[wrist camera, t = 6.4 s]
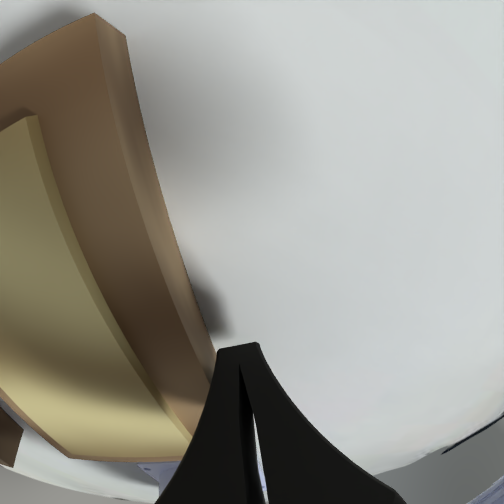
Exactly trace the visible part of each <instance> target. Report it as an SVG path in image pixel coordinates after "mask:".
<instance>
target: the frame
mask: <svg viewBox="0 0 504 504" xmlns="http://www.w3.org/2000/svg"><path fill="white" fill-rule="evenodd" d="M215 362H216V352H215V349H214V347H213V344H212V342H211V339H210V336H209V334H208V331H207V328H206V326H205V323H204V320H203V318H202V315H201V312H200V309H199V307H198V304H197V301H196V298H195V295H194V292H193V290H192V287H191V284H190V281H189V278H188V275H187V272H186V269H185V266H184V263H183V260H182V257H181V254H180V251H179V248H178V245H177V241H176V238H175V235H174V232H173V229H172V225H171V222H170V219H169V215H168V212H167V209H166V205H165V202H164V199H163V195H162V192H161V188H160V184H159V181H158V177H157V174H156V170H155V166H154V163H153V159H152V155H151V151H150V147H149V143H148V139H147V135H146V131H145V127H144V123H143V119H142V115H141V110H140V106H139V101H138V97H137V92H136V88H135V83H134V78H133V73H132V68H131V63H130V58H129V53H128V48H127V42H126V36H125V35H124V34H122V33H121V32H120V31H119V30H117V29H116V28H115V27H113V26H112V25H111V24H109V23H108V22H106V21H105V20H104V19H102V18H101V17H100V16H98V15H97V14H95V13H92V14H90V15H88V16H85V17H83V18H81V19H79V20H77V21H74V22H72V23H70V24H68V25H66V26H64V27H62V28H60V29H58V30H56V31H54V32H52V33H50V34H49V35H47V36H45V37H43V38H41V39H40V40H38V41H36V42H34V43H33V44H31V45H29V46H28V47H26V48H24V49H23V50H21V51H19V52H18V53H16V54H15V55H13V56H12V57H10V58H9V59H7V60H6V61H4V62H3V63H1V64H0V397H1V398H2V399H3V400H4V401H5V402H6V403H7V404H8V405H9V406H10V407H11V408H12V409H13V410H14V411H15V412H16V413H17V414H18V415H19V416H20V417H21V418H22V419H23V420H24V421H25V422H26V423H27V424H28V425H29V426H30V427H31V428H33V429H34V430H35V431H36V432H37V433H38V434H39V435H41V436H42V437H43V438H44V439H45V440H46V441H48V442H49V443H50V444H51V445H52V446H54V447H55V448H56V449H57V450H59V451H60V452H61V453H63V454H64V455H65V456H67V457H68V458H72V459H82V460H94V461H110V462H166V461H181V460H182V458H183V456H184V454H185V452H186V450H187V448H188V446H189V444H190V442H191V439H192V437H193V435H194V432H195V430H196V428H197V425H198V422H199V419H200V417H201V414H202V411H203V408H204V405H205V402H206V399H207V395H208V392H209V388H210V385H211V381H212V377H213V372H214V368H215Z"/></svg>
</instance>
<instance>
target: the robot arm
mask: <svg viewBox="0 0 504 504" xmlns="http://www.w3.org/2000/svg"><path fill="white" fill-rule="evenodd" d="M253 414H254V418H255V423H256V427H257V434H258V440H259V446H260V452H261V458H262V464H263V470H264V474H263V471H262V469H261V467H260V465H259V462H258V460H257V453H256V442H255V430H254V419H253ZM137 466H138V467H139V468H141V469H142V470H143V471H144V472H146V473H147V474H148V475H150V476H151V477H152V478H154V479H155V480H156V481H158V482H159V498H158V499H157V501H156V502H155V504H266V503H265V499H264V494H263V491H266V490H267V495H268V501H269V504H406V502H405V501H404V500H403V498H402V497H401V496H400V495H399V494H398V493H397V492H396V491H395V490H394V489H393V488H391V487H389V486H388V485H386V484H384V483H383V482H381V481H379V480H378V479H376V478H375V477H373V476H372V475H370V474H369V473H367V472H366V471H365V470H363V469H362V468H361V467H359V466H358V465H356V464H355V463H354V462H353V461H351V460H350V459H349V458H348V457H346V456H345V455H344V454H343V453H342V452H340V451H339V450H338V449H337V448H336V447H335V446H333V445H332V444H331V443H330V442H329V441H328V440H327V439H326V438H325V437H324V436H323V435H322V434H321V433H320V432H319V431H318V430H317V429H316V428H315V427H314V426H313V425H312V424H311V423H310V422H309V421H308V420H307V418H306V417H305V416H304V415H303V414H302V413H301V412H300V410H299V409H298V408H297V407H296V405H295V404H294V403H293V402H292V400H291V399H290V398H289V396H288V395H287V394H286V392H285V391H284V389H283V388H282V386H281V385H280V383H279V382H278V380H277V379H276V377H275V376H274V374H273V373H272V371H271V369H270V367H269V365H268V364H267V362H266V360H265V358H264V355H263V353H262V351H261V348H260V345H259V343H257V342H252V343H247V344H242V345H237V346H232V347H227V348H221V349H219V350H218V351H217V355H216V362H215V368H214V372H213V377H212V381H211V385H210V388H209V392H208V395H207V399H206V402H205V405H204V408H203V411H202V414H201V417H200V419H199V422H198V425H197V428H196V430H195V432H194V435H193V437H192V439H191V442H190V444H189V446H188V448H187V450H186V452H185V454H184V456H183V458H182V460H181V461H166V462H137ZM467 504H504V475H503V476H502V477H501V478H500V479H498V480H497V481H496V482H495V483H494V484H492V486H491V487H490V488H488V489H487V490H486V491H484V492H483V493H481V494H480V495H479V496H477V497H476V498H474V499H473V500H471V501H470V502H468V503H467Z"/></svg>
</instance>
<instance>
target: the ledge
mask: <svg viewBox="0 0 504 504" xmlns="http://www.w3.org/2000/svg"><path fill="white" fill-rule="evenodd" d="M22 433H23V429H22V428H21V427H20V426H19V425H18V424H17V423H16V422H15V421H14V420H13V419H12V418H11V417H10V416H9V415H8V414H7V413H6V412H5V411H4V410H3V409H2V408H1V407H0V464H2V465H5V466H8V467H12V468H13V466H14V462H15V458H16V454H17V451H18V447H19V444H20V440H21V437H22Z"/></svg>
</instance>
